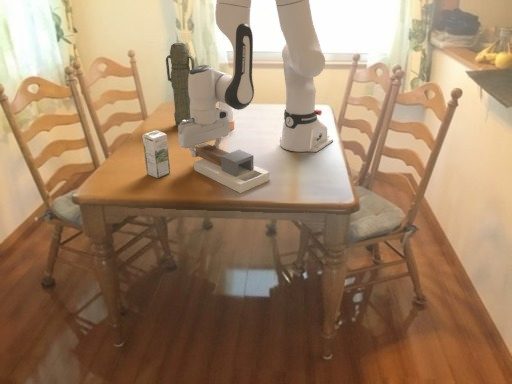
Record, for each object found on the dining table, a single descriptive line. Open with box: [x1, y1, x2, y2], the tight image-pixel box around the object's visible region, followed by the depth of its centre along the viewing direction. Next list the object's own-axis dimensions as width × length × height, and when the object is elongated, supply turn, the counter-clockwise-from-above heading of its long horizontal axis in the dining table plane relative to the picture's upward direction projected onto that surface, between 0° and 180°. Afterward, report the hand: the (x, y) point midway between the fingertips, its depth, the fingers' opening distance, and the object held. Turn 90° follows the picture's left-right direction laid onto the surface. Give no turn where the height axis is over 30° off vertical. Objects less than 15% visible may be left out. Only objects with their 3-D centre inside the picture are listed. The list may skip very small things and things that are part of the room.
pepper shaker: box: [218, 102, 235, 131], centre depth 182 cm, size 7×7×19 cm
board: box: [193, 149, 271, 194], centre depth 142 cm, size 13×24×8 cm, turn 44°
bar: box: [195, 142, 229, 167], centre depth 148 cm, size 4×15×4 cm, turn 44°
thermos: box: [165, 42, 196, 129], centre depth 182 cm, size 9×12×35 cm
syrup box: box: [142, 130, 171, 179], centre depth 142 cm, size 6×6×14 cm
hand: (205, 153), depth 151 cm, fingers open, 8 cm apart
